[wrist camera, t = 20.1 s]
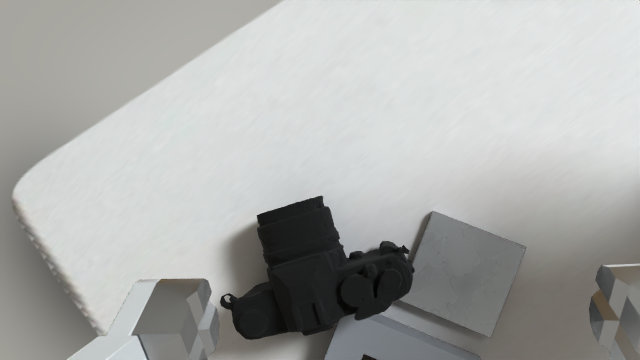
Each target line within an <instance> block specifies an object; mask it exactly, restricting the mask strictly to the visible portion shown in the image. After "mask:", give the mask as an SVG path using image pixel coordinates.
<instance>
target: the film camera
mask: <svg viewBox="0 0 640 360" xmlns="http://www.w3.org/2000/svg"><path fill="white" fill-rule="evenodd" d="M257 219H258V223H259V224H260V227H259V228H257V231H258V235H259V238H260V240H261V243H262V246H263V248H264V250H263V252H264V254H263V256H264V259H265V262H266V263H267V264H268V266H269V267H268V269H267V273H268V277H269V282H266V283H262V284H259V285H257V286H255V287H254V288H253V289H251V290H250V291H249V292H248V293H246V294H245V295H244V296H243V297H241V298H236V297H234V296H233V295H231V294H230V293H229V294H226V295H229V296H231V297H230V299H229V300H230V301H231V303H228V302H226V301H225V299H224V297H225V296H226V295H224V296H222V297H221V300H220V303H221V306H223V307H224V308H225V309H229V310H231V311H232V316H233V323H234V326H235V328H236V331H237V332H239V333H240V334H241V335H242V336H243V337H244V338H245V339H249V340H253V339H260V338H263V337H267V336H273V335H277V334H282V333H286V332H302V333H303V335H304V336H308V335H311V334H315V333H318V332H321V331H326V330H329V329H331V328H333V325H334V322H335V321H336V320H338V319H340V318H343V317H344V316H348V315H352V314H355V320H358V321H360V320H363V319H367V318H369V317H371V316H373V315H376V314H379V313H381V312H384V311H385V310H386V309H388V308H389V307H390V306H391V304H392V302H393V301H395V300H398V299H400V298H402V297H404V296H405V295H406V294H408V293H409V291H410V289H411V286H412V282H413V273H414V272H415V268H414V267H413V266H412V263H411V262H410V260H407V259H406V257H405V255H404V253H405V254H409V250H408V249H407V248H406V247H405V246H404V245H403V246H402V248H401V247H399V248H398V247H397V246H396V245H395V244H394V243H392V242H389V241H382V242H381V244H380V249H378V250H375V251H372V252H369V253H366V254H364V253H363V252H361V251H355V252H352V253H350V256H349V258H347V259H346V255H345V253H344V250H343V245H341V244H340V243H339V239H340V237H339V233H338V231H337V230H336V228H335V227H334V223H333V219H332V215H331V211H330V209H329V207H325V206H324V204H323V196H318V197H315V198H310V199H307V200H304V201H301V202H296V203H293V204H290V205H287V206H285V207H281V208H278V209H275V210H271V211H268V212H265V213H262V214H259V215H257Z"/></svg>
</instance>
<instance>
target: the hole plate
mask: <svg viewBox="0 0 640 360" xmlns="http://www.w3.org/2000/svg"><path fill="white" fill-rule="evenodd" d="M363 354H366V355H368V356H370V357H373V358H375V359H377V360H481V359H480V357H479V356H477V355H474V354H472V353H470V352H467V351H465V350H462V349H460V348H458V347H455V346H453V345H451V344H448V343H446V342H443V341H441V340H439V339H436V338H434V337H431V336H429V335H427V334H424V333H422V332H420V331H417V330H415V329H412V328H410V327H408V326H405V325H403V324H401V323H398V322H396V321H393V320H391V319H389V318H386V317H384V316H381V315H379V314H376V315H373V316H371V317H369V318H367V319H363V320H360V321H358V320H355V314H352V315H348V316H344V317H343V318H340V319H339V321H338V323H337V326H336V328H335V331H334V333H333V336H332V338H331V341H330V343H329V346H328V349H327V351H326V354H325V356H324V359H323V360H361V359H362V357H363Z"/></svg>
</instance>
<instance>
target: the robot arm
mask: <svg viewBox="0 0 640 360" xmlns="http://www.w3.org/2000/svg"><path fill="white" fill-rule="evenodd" d="M596 282H597V284H598V285H599V287H600V290H599V291H598V292H596V293H595V294H594V295H593V296H592V297H591V303H590V308H589V312H590V323H591V326H592V329H593V333H594V335H595V337H596V339H597V341H598V343H599V344H601V345H602V346H603V347H605V348H606V349H608V350H609V351H611V352H610V356H609V360H640V264H617V265H602V266H601V267H600V268H599V270H598V272H597V276H596ZM211 292H212V291H211V288H210V285H209V282H208V280H206V279H161V280H139V281H137V282H136V283H135V284H134V285H133V287H132V289H131V290H130V292H129V294H128V296H127V298H126V299H125V301H124V303H123V305H122V307H121V309H120V310H119V312H118V314H117V316H116V318H115V319H114V321H113V323H112V325H111V327H110V329H109V330H108V332H107V334H106V336H99V337H97V338H96V339H95V340H93V341H92V342H90V343H89V344H88V345H86V346H85V347H83V348H82V349H81V350H79V351H78V352H77V353H75V354H74V355H72V356H71V357H70V358H68V359H67V360H207V357H208V356H209V355H210V354H211V353H212V352H213V351H214V350H215V348H216V345H217V341H218V335H219V317H218V312H217V309H216V306H214V305H213V304H212V303H211V302H209V298H210V295H211Z"/></svg>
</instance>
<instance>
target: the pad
mask: <svg viewBox="0 0 640 360" xmlns="http://www.w3.org/2000/svg"><path fill="white" fill-rule="evenodd" d="M525 250H526V247H524V246H522V245H519V244H517V243H514V242H512V241H509V240H507V239H504V238H502V237H499V236H496V235H494V234H491V233H489V232H486V231H484V230H481V229H479V228H476V227H473V226H471V225H468V224H466V223H463V222H461V221H458V220H456V219H453V218H450V217H448V216H445V215H443V214H440V213H438V212H435V211H432V213H431V216H430V218H429V221H428V224H427V226H426V229H425V231H424V234H423V236H422V239H421V241H420V244H419V246H418V249H417V251H416V254H415V256H414V259H413V261H412V266H413V267H414V268H415V272H414V273H413V282H412V286H411V289H410V291H409V293H408V294H406V295H405V296H404V297H402V298H400V299H399V300H401V301H403V302H405V303H408V304H410V305H413V306H415V307H418V308H420V309H422V310H425V311H427V312H430V313H432V314H434V315H437V316H439V317H442V318H444V319H446V320H449V321H451V322H454V323H456V324H459V325H461V326H463V327H466V328H468V329H471V330H473V331H475V332H478V333H480V334H483V335H485V336H487V337H490V338H491V335H492V333H493V330H494V328H495V325H496V323H497V320H498V318H499V315H500V313H501V310H502V308H503V305H504V303H505V300H506V298H507V295H508V293H509V290H510V288H511V285H512V283H513V280H514V278H515V275H516V273H517V270H518V268H519V265H520V263H521V260H522V258H523V255H524V253H525Z"/></svg>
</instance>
